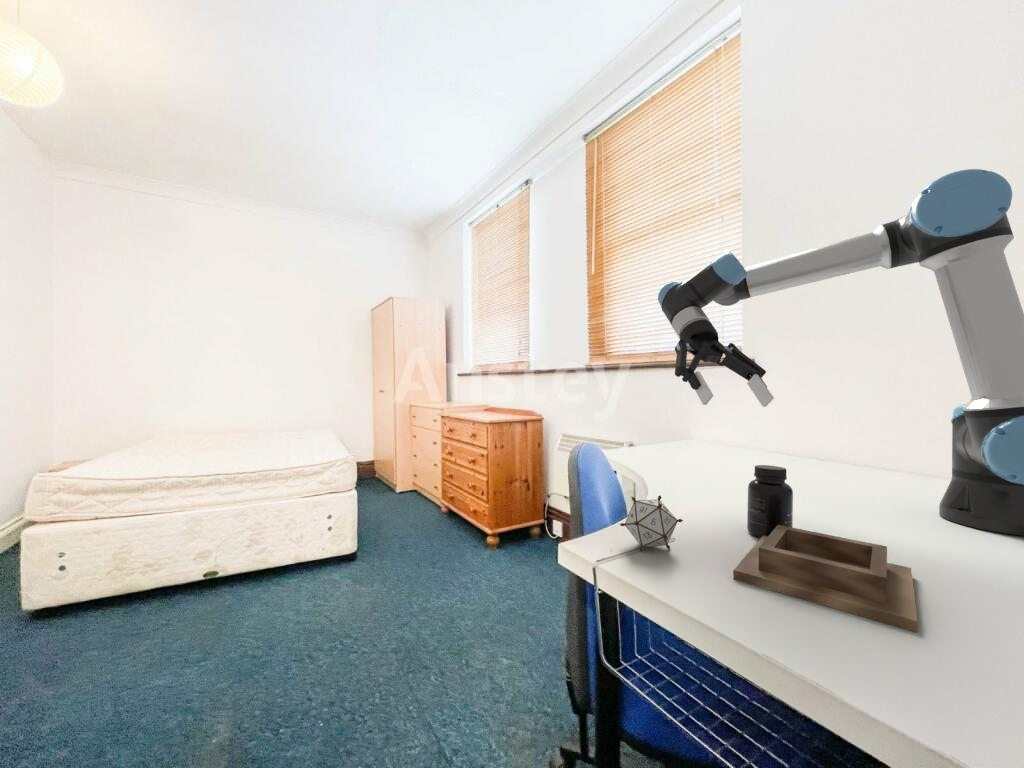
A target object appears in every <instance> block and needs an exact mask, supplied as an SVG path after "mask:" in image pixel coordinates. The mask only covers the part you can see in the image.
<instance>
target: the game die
mask: <svg viewBox="0 0 1024 768" xmlns="http://www.w3.org/2000/svg"><path fill="white" fill-rule="evenodd" d="M631 500H632V502H633V503H632V506H631V508H630V511H629V512H628V515H627V518H626V520H625V523H624V522H621V523H620V524H619V526H621V527H626V529H627V531H628V532H629V533H630V534H631V535H632V536H633V538H634V539H635V540H636V541H637V543H638V544H639V545H640V547H639V551H640V550H644V548H646V547H661V546H662V547H663V546H665V547H666V549H668V550H671V546H670V545H669V543H670V540H671V538H672V535H673V532H674V531H675V529H676V526H677V524H678V523H682V522H684V520H683V519H682V518H678V519H677V518H676V517H675V515H674V514H673V513H672V512H671V511H670V510H669V508H667V506H665V504H664V503H663V502H662V501H661V500H662V496H661V495H658V496H657V499H641V500H640V499H639V500H637V499H636V497H634V496H631Z"/></svg>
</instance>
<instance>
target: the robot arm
mask: <svg viewBox="0 0 1024 768" xmlns="http://www.w3.org/2000/svg"><path fill="white" fill-rule="evenodd" d="M1012 190H1013V189H1012V186H1011V184H1010V183H1009V181H1008V180H1007V179H1006V178H1005V177H1004V176H1002V175H1001V174H999V173H996V172H994V171H992V170H991V171H990V170H987V169H981V168H980V169H979V168H971V169H962V170H957V171H953V172H950V173H948V174H944V175H943V176H941V177H939V178H937V179H935V180H933V181H932V182H931V183H929V184H928V185H927V186H925V188H924V189H923V190H921V192H919V193H918V195H917V196H916V197H914V199H913V200H912V203H911V205H910V209H909V211H908V213H907V214H905V215H903V216H902V217H900V218H897V219H895V220H893V221H891V222H887V223H884V224H883V223H882V224H880V225H878V227H876V229H875V230H874V231H873V232H869V233H864V234H861V235H858V236H854V237H851V238H847V239H843V240H839V241H837V242H833V243H830V244H826V245H823V246H820V247H815V248H812V249H808V250H805V251H802V252H797V253H794V254H789V255H786V256H783V257H780V258H776V259H774V260H769V261H765V262H762V263H759V264H755V265H751V266H748V267H744V266H743V264H742V263H741V262H740V260H739V259H737V257H736V256H735V255H734V254H733V252H731V251H725V252H724V253H722V254H721V255H719V256H718V257H716V258H714V259H713V260H712V261H711V262H710V263H709V264H707V265H706V266H705V267H703V268H702V269H701V270H700V271H697V273H695V274H694V275H693V276H692V277H690V278H688V279H687V280H685V281H684V282H682V281H679V280H673V281H671V282H668V283H666V284H665V285H663V286H662V288H661V289H660V290H659V293H658V294H657V301H658V303H659V305H660V307H661V311H662V313H663V314H664V315H665V317H666V319H667V321H668V322H669V323H670V325H671V328H672V329H673V330H674V332H675V333H676V336H677V337H678V338H679V340H678V342H677V344H676V345H675V347H674V351H675V353H676V358H675V359H676V360H675V365H674V367H675V368H674V376H676V377H678V378H680V377H682V378H681V380H682V381H683V382H685V383H687V382H688V384H689V386H690V388H691V389H692V390H694V391H695V393H696V394H697V397H698V398H699V400H700V402H701V403H702V405H704V406H705V405H708V404H709V403H710V401H711V400H712V399H713V398H714V396H715V395H714V393H713V392H712V391H711V389H710V386H709V385H708V383H707V382H706V380H705V379H704V377H703V375H702V373H701V371H699V370H697V371H696V369H697V367H698V366H699V364H700V361H702V362H703V363H713V364H715V363H716V364H717V365H718V366H720V367H723V366H724V367H725V368H727V369H729V370H730V371H732V372H734V373H735V374H737V375H739V376H741V378H744V379H745V380H746V381H747V383H746V384H747V386H748V387H749V389H750V390H751V392H752V393H753V394H754V396H755V398H756V399H757V400H758V402H759V404H760V405H761V406H762V408H764V407H765V408H766V407H767V406H768V405H769V404H770V403H771V402H772V401H773V400H774V399H775V397H774V396H773V394H772V393H771V391H770V390H769V389H768V386H767V384H766V383H765V381H764V380H763V378H764V377H763V376H765V374H766V373H767V370H766V369H765V368H762V366H760V365H759V364H758V363H757V362H756V361H754V360H753V359H752V358H750V357H749V356H747V355H746V354H745V353H743V352H742V351H741V350H740V349H739V348H738V347H737V346H736V345H735V344H734V343H733V342H730V343H729V344H728V345H724V344H723V343H721V341H719V333H718V330H717V329H716V328H715V326H714V325H713V324H712V322H711V320H710V319H709V317H708V316H707V314H706V313H705V311H704V310H703V308H705V307H706V306H708V305H709V304H710V303H712V302H715V303H716V304H718V305H720V306H726V307H729V306H733V305H735V304H737V303H739V302H740V301H742V300H743V301H744V300H747V299H749V298H754V297H758V296H763V295H767V294H770V293H775V292H779V291H783V290H786V289H787V290H788V289H791V288H795V287H798V286H799V287H800V286H804V285H807V284H811V283H817V282H820V281H824V280H828V279H829V280H830V279H833V278H836V277H841V276H845V275H850V274H853V273H858V272H861V271H865V270H870V269H873V268H874V269H875V268H878V267H881V268H884V269H886V270H889V269H893V268H899V267H903V266H907V265H913V264H917V263H919V266H920V267H922V268H925V269H927V270H931V271H932V272H933V273H934V276H935V280H936V283H937V286H938V290H939V293H940V295H941V299H942V302H943V307H944V310H945V312H946V316H947V319H948V322H949V326H950V330H951V333H952V336H953V339H954V343H955V346H956V348H957V353H958V356H959V360H960V363H961V365H962V369H963V372H964V376H965V379H966V383H967V386H968V390H969V392H970V395H971V396H970V397H971V398H970V400H969V401H968V402H967V403H966V404H961V405H958V406H956V407H955V408H954V409H953V412H952V418H951V419H950V422H951V424H952V430H951V431H952V433H951V435H952V436H951V438H952V439H951V443H952V446H951V480H950V482H949V484H948V486H947V489H946V490H945V492H944V494H943V496H942V498H941V500H940V501H939V505H938V515H939V516H940V517H941V518H944V519H946V520H948V521H950V522H953V523H955V524H956V523H957V524H959V525H964V526H968V527H971V528H976V529H980V530H985V531H989V532H990V531H991V532H994V533H1001V534H1007V535H1014V536H1015V535H1016V536H1022V537H1024V310H1023V307H1022V304H1021V301H1020V297H1019V294H1018V292H1017V288H1016V285H1015V282H1014V280H1013V276H1012V273H1011V269H1010V267H1009V264H1008V261H1007V257H1006V255H1005V249H1006V248H1007V247H1008V246H1009V245H1010V243H1011V242H1012V241H1013V240H1014V234H1013V231H1012V228H1011V223H1010V221H1009V218H1008V215H1007V212H1008V211H1009V210H1010V208H1011V205H1012V199H1013V191H1012ZM688 353H690V354H691V356H693V358H692V360H691V362H690V364H689V366H688V367H687V359H688V357H687V356H688ZM723 356H724V357H723ZM722 358H723V359H722ZM721 359H722V360H721Z"/></svg>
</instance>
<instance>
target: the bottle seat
mask: <svg viewBox="0 0 1024 768" xmlns="http://www.w3.org/2000/svg"><path fill="white" fill-rule="evenodd" d="M732 574H733V575H732V576H733V578H732V579H733V580H736V581H739V582H743V583H745V584H749V585H753V586H757V587H760V588H764V589H765V590H766V589H767V590H771V591H774V592H778V593H781V594H784V595H788V596H791V597H793V598H797V599H802V600H805V601H808V602H812V603H815V604H819V605H822V606H826V607H828V608H832V609H836V610H839V611H843V612H846V613H848V614H849V613H850V614H853V615H856V616H860V617H862V618H866V619H870V620H874V621H877V622H880V623H883V624H886V625H887V624H888V625H891V626H893V627H897V628H901V629H904V630H907V631H910V632H915V633H918V616H917V615H918V614H917V607H916V600H915V599H916V598H915V591H914V584H913V583H914V581H913V575H912V574H913V573H912V567H909V566H904V565H899V564H896V563H895V564H894V563H891V562H888V546H886V545H882V544H876V543H871V542H866V541H861V540H855V539H852V538H847V537H842V536H835V535H831V534H825V533H821V532H817V531H810V530H806V529H801V528H796V527H793V526H792V527H787V526H782V525H777V526H776V527H775V529H774V530H773V531H772V532H771V533H770V535H769V536H768V537H767V536H762V537H761V538H759V540H758V541H757V542H756V543H755V544H754V545H753V547H751V549H750V550H749V551H748V552H747V554H746V555H745V556H744V557H743V558H742V560H740V561H739V563H737V565H736V567H735V568H734V569H733V571H732Z"/></svg>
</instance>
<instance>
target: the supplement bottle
mask: <svg viewBox="0 0 1024 768" xmlns="http://www.w3.org/2000/svg"><path fill="white" fill-rule="evenodd" d="M753 476H754V477H755V479H753V480H751V481H749V483H748V485H747V511H746V512H747V514H746V515H747V517H746V518H747V519H746V520H747V521H746V523H747V524H746V525H747V526H746V527H747V528H746V529H747V531H748V532H749V534H750V533H751V535H752V536H754V537H756V536H757V538H759V537H760V538H759V539H761V537H762V536H767V537H768V536H769V535H770V533H771V532H772V531H773V530H774V529H775V527H776V526H777V525H782V526H787V527H792V528H793V521H794V520H793V519H794V518H793V517H794V516H793V515H794V514H793V513H794V512H793V511H794V510H793V509H794V490H793V488H792V486H790V485H789V484H788V483H786V481H787V480H788V478H787V468H785V467H782V466H776V465H769V464H757V465H754V472H753Z"/></svg>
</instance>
